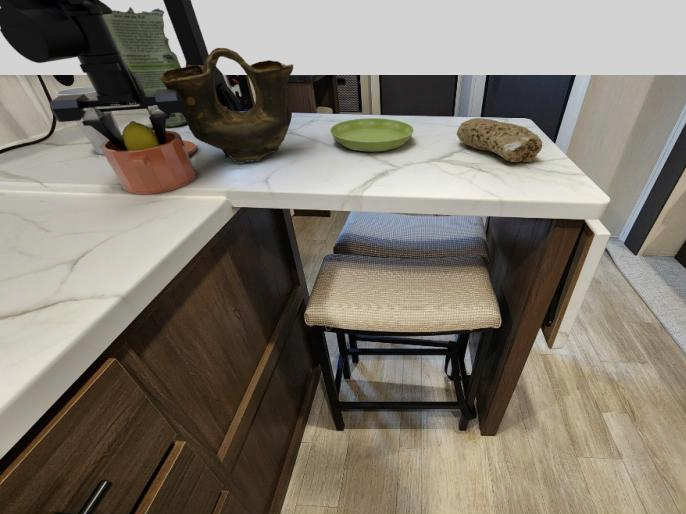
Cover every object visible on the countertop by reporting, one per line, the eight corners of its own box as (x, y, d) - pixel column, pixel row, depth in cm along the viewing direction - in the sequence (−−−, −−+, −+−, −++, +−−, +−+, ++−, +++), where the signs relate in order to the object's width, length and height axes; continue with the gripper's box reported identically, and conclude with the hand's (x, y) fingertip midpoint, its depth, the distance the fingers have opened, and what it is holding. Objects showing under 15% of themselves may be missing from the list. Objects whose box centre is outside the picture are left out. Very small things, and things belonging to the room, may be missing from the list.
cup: (112, 156, 75) (77, 95, 66) (83, 153, 76) (45, 93, 67) (139, 145, 80) (110, 87, 72) (111, 142, 81) (80, 86, 73)
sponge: (541, 166, 76) (494, 124, 86) (551, 133, 69) (500, 92, 80) (491, 184, 74) (450, 139, 84) (497, 152, 67) (451, 108, 78)
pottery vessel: (301, 141, 83) (283, 43, 70) (312, 155, 76) (295, 48, 63) (193, 156, 75) (149, 47, 62) (194, 173, 68) (144, 54, 55)
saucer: (424, 152, 79) (425, 137, 76) (338, 160, 74) (336, 145, 72) (400, 127, 93) (400, 115, 91) (327, 133, 89) (325, 120, 87)
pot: (198, 160, 73) (183, 124, 68) (193, 194, 61) (174, 152, 56) (133, 168, 70) (112, 130, 65) (114, 205, 57) (86, 161, 52)
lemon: (163, 159, 66) (142, 115, 61) (175, 166, 64) (155, 120, 58) (133, 167, 63) (108, 121, 58) (145, 174, 61) (120, 127, 55)
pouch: (144, 127, 91) (86, 7, 74) (171, 116, 100) (125, 6, 83) (181, 129, 90) (132, 7, 73) (206, 118, 99) (166, 6, 82)
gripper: (170, 46, 60) (204, 137, 70) (44, 49, 54) (102, 148, 65) (163, 53, 52) (202, 155, 63) (16, 58, 47) (86, 168, 57)
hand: (149, 155), depth 62 cm, fingers closed on lemon, 5 cm apart
